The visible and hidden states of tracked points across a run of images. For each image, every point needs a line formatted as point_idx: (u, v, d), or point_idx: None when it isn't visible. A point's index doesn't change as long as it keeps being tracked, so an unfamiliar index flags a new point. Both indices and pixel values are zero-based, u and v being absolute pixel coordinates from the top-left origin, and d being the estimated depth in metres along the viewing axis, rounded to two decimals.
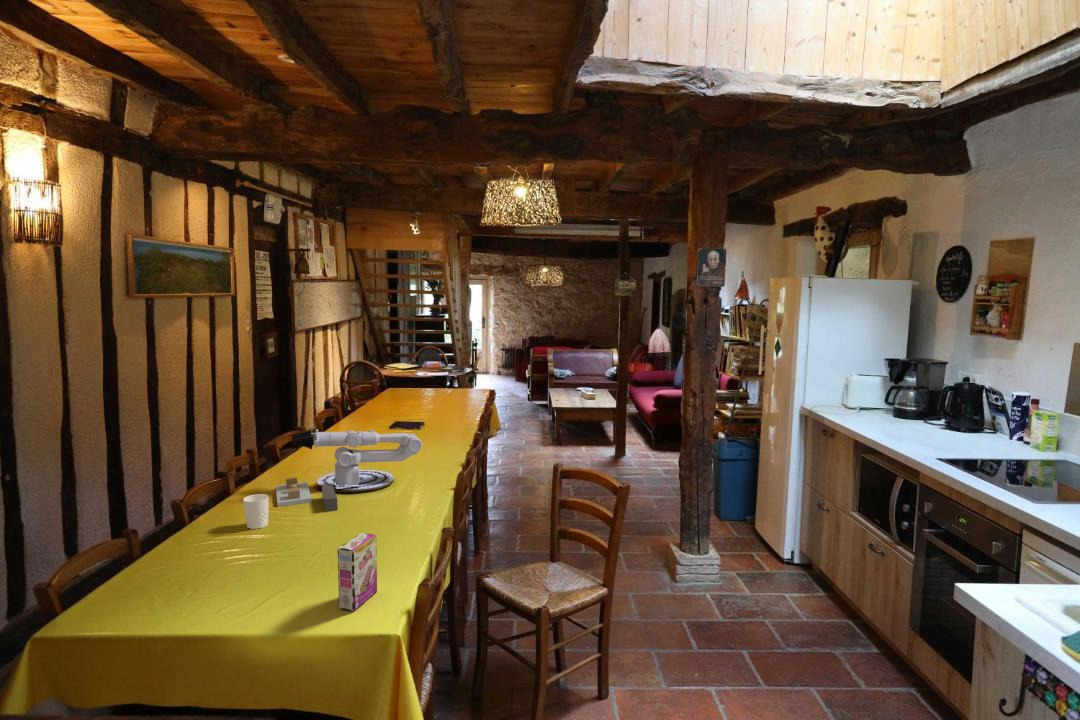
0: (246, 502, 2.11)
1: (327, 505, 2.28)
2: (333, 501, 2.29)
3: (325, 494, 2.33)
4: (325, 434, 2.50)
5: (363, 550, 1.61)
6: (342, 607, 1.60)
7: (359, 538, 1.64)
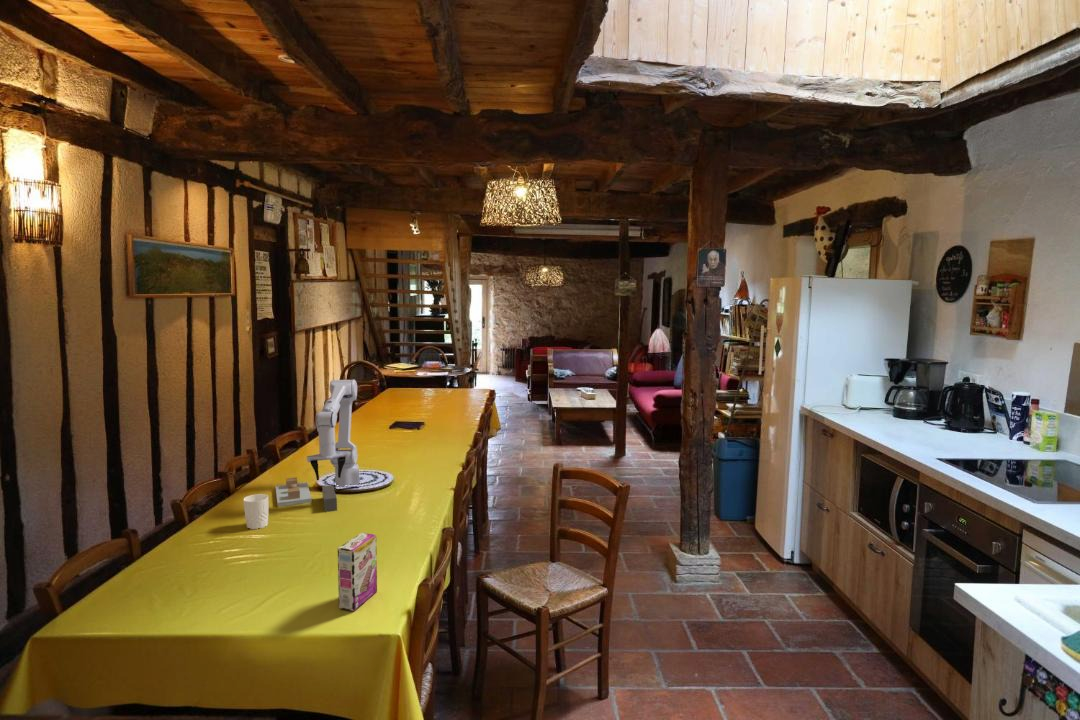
0: (246, 502, 2.11)
1: (326, 505, 2.28)
2: (332, 501, 2.29)
3: (325, 494, 2.33)
4: (332, 448, 2.32)
5: (363, 550, 1.61)
6: (342, 607, 1.60)
7: (359, 538, 1.64)
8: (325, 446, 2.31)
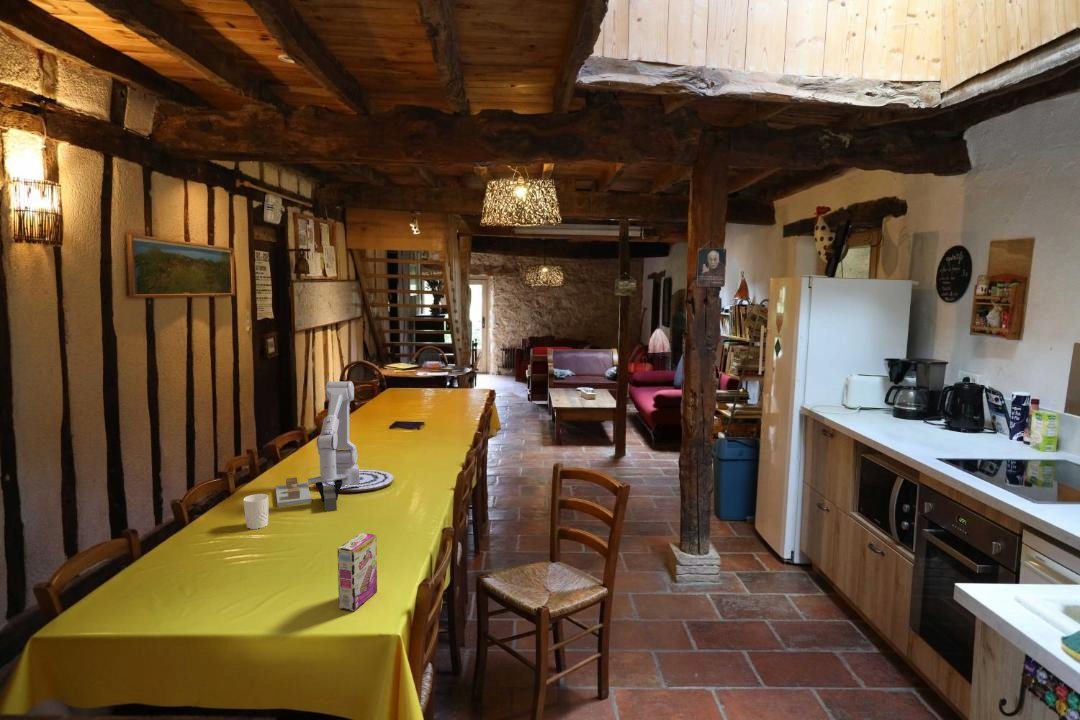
0: (246, 502, 2.11)
1: (326, 505, 2.28)
2: (332, 501, 2.29)
3: (325, 494, 2.33)
4: (333, 470, 2.33)
5: (363, 550, 1.61)
6: (342, 607, 1.60)
7: (359, 538, 1.64)
8: (326, 469, 2.32)
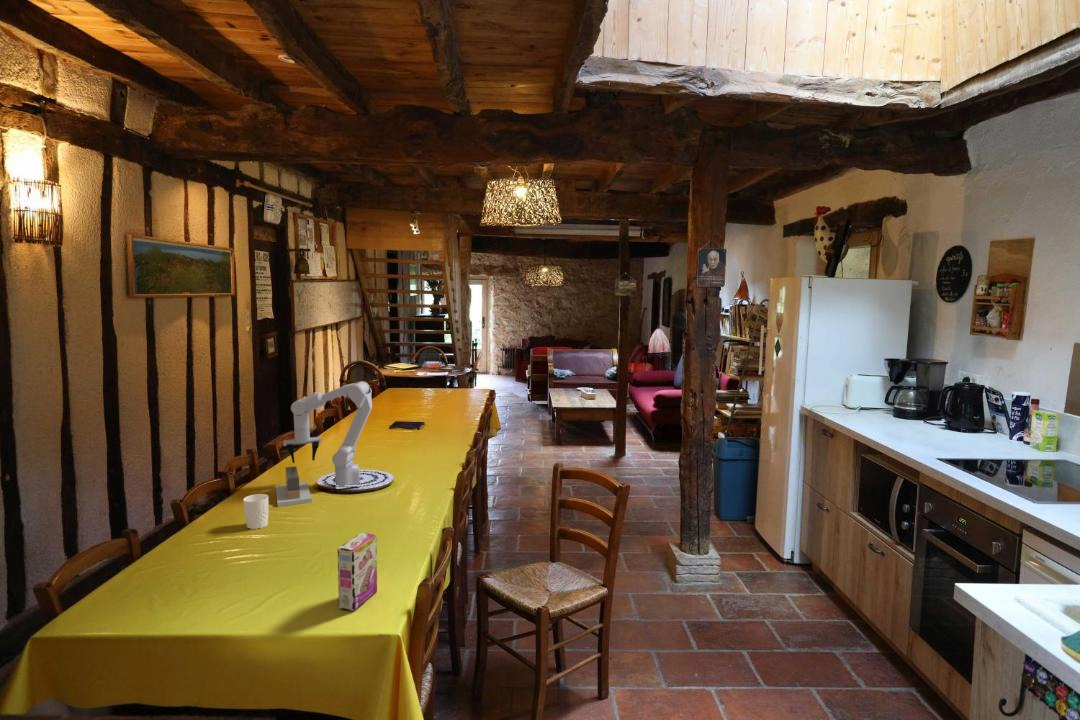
0: (246, 502, 2.11)
1: (289, 484, 2.37)
2: (295, 480, 2.38)
3: (288, 474, 2.42)
4: (306, 433, 2.54)
5: (363, 550, 1.61)
6: (342, 607, 1.60)
7: (359, 538, 1.64)
8: (300, 431, 2.52)
